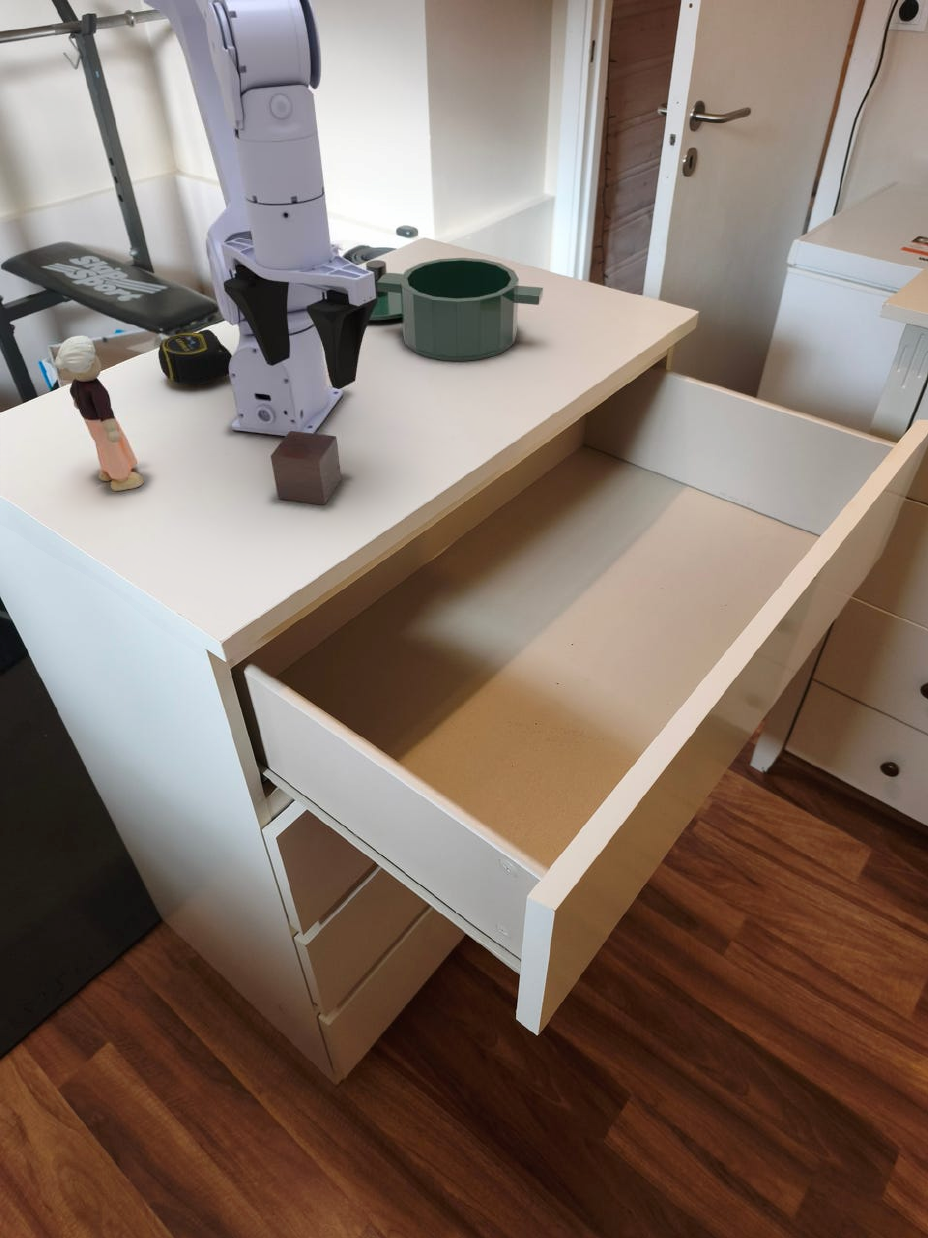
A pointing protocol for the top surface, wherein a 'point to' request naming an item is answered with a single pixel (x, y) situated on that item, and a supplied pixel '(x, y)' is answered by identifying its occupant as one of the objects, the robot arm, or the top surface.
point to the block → (306, 467)
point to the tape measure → (194, 358)
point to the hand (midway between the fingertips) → (310, 372)
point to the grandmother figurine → (98, 413)
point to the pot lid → (384, 294)
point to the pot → (459, 307)
